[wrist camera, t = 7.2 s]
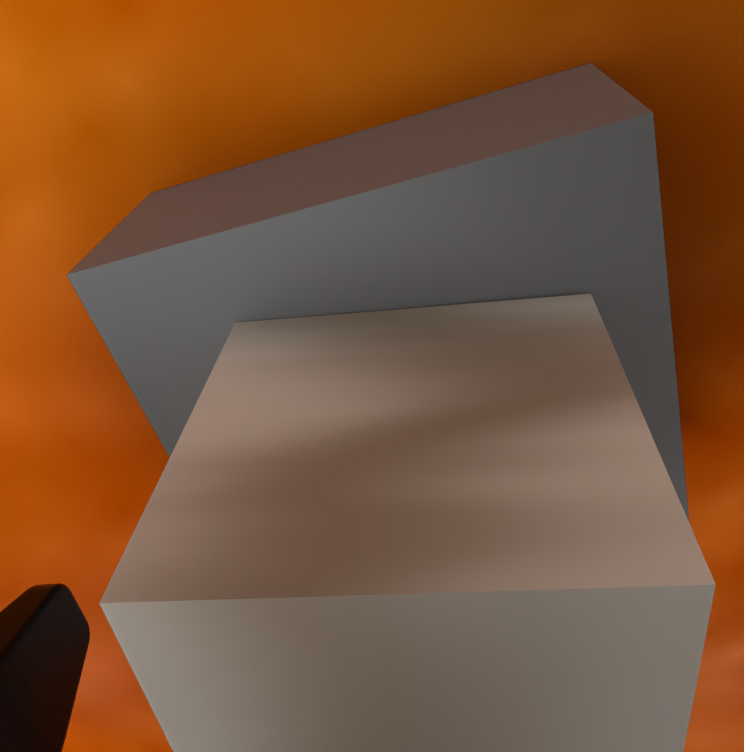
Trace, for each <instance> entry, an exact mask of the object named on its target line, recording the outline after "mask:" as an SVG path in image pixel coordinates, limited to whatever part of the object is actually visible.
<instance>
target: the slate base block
mask: <svg viewBox="0 0 744 752" xmlns="http://www.w3.org/2000/svg"><path fill="white" fill-rule="evenodd" d="M67 277H68V278H69V280H70V282H71V284H72V285H73V287H74V289H75V291H76V292H77V294H78V296H79V298H80V300H81V301H82V303H83V305H84V307H85V308H86V310H87V312H88V314H89V315H90V317H91V319H92V321H93V323H94V324H95V326H96V328H97V330H98V331H99V333H100V335H101V337H102V339H103V340H104V342H105V344H106V346H107V347H108V349H109V351H110V353H111V354H112V356H113V358H114V360H115V362H116V363H117V365H118V367H119V369H120V370H121V372H122V374H123V376H124V378H125V379H126V381H127V383H128V385H129V386H130V388H131V390H132V392H133V393H134V395H135V397H136V399H137V401H138V402H139V404H140V406H141V408H142V409H143V411H144V413H145V415H146V416H147V418H148V420H149V422H150V424H151V425H152V427H153V429H154V431H155V432H156V434H157V436H158V438H159V440H160V441H161V443H162V445H163V447H164V448H165V450H166V452H167V454H168V455H169V457H170V456H171V454H172V452H173V450H174V448H175V446H176V444H177V442H178V440H179V438H180V436H181V434H182V432H183V429H184V427H185V425H186V423H187V421H188V419H189V417H190V415H191V413H192V411H193V409H194V407H195V405H196V403H197V401H198V399H199V396H200V394H201V392H202V390H203V388H204V386H205V384H206V382H207V380H208V378H209V376H210V374H211V372H212V370H213V368H214V365H215V363H216V361H217V359H218V357H219V355H220V353H221V351H222V349H223V347H224V345H225V343H226V341H227V339H228V337H229V335H230V332H231V330H232V328H233V326H234V324H235V323H237V322H250V321H262V320H274V319H286V318H299V317H311V316H323V315H335V314H347V313H360V312H372V311H384V310H396V309H409V308H421V307H433V306H445V305H458V304H470V303H482V302H494V301H506V300H519V299H531V298H543V297H555V296H568V295H580V294H591V295H592V297H593V299H594V302H595V304H596V306H597V309H598V311H599V313H600V316H601V318H602V320H603V323H604V325H605V327H606V330H607V332H608V334H609V337H610V339H611V341H612V344H613V346H614V348H615V351H616V353H617V355H618V358H619V360H620V362H621V365H622V367H623V369H624V372H625V374H626V376H627V379H628V381H629V383H630V386H631V388H632V390H633V393H634V395H635V398H636V400H637V402H638V405H639V407H640V409H641V412H642V414H643V416H644V419H645V421H646V423H647V426H648V428H649V430H650V433H651V435H652V437H653V440H654V442H655V444H656V447H657V449H658V451H659V454H660V456H661V458H662V461H663V463H664V465H665V468H666V470H667V472H668V475H669V477H670V479H671V482H672V484H673V486H674V489H675V491H676V493H677V496H678V498H679V500H680V503H681V505H682V507H683V510H684V512H685V514H686V517H687V519H688V521H689V514H688V503H687V491H686V480H685V469H684V457H683V446H682V435H681V423H680V412H679V400H678V389H677V378H676V366H675V355H674V344H673V332H672V321H671V309H670V298H669V287H668V275H667V264H666V253H665V241H664V230H663V218H662V207H661V196H660V184H659V173H658V162H657V150H656V139H655V127H654V116H653V112H652V111H651V110H650V109H648V108H647V107H646V106H645V105H643V104H642V103H641V102H640V101H638V100H637V99H636V98H635V97H633V96H632V95H631V94H630V93H628V92H627V91H626V90H625V89H623V88H622V87H621V86H620V85H618V84H617V83H616V82H615V81H613V80H612V79H611V78H610V77H608V76H607V75H606V74H605V73H603V72H602V71H601V70H600V69H598V68H597V67H596V66H595V65H593V64H592V63H588V64H585V65H582V66H578V67H575V68H571V69H568V70H565V71H561V72H558V73H555V74H551V75H548V76H544V77H541V78H538V79H534V80H531V81H528V82H524V83H521V84H517V85H514V86H511V87H507V88H504V89H501V90H497V91H494V92H490V93H487V94H484V95H480V96H477V97H474V98H470V99H467V100H463V101H460V102H457V103H453V104H450V105H446V106H443V107H440V108H436V109H433V110H430V111H426V112H423V113H419V114H416V115H413V116H409V117H406V118H403V119H399V120H396V121H392V122H389V123H386V124H382V125H379V126H376V127H372V128H369V129H365V130H362V131H359V132H355V133H352V134H349V135H345V136H342V137H338V138H335V139H332V140H328V141H325V142H322V143H318V144H315V145H311V146H308V147H305V148H301V149H298V150H294V151H291V152H288V153H284V154H281V155H278V156H274V157H271V158H267V159H264V160H261V161H257V162H254V163H251V164H247V165H244V166H240V167H237V168H234V169H230V170H227V171H224V172H220V173H217V174H213V175H210V176H207V177H203V178H200V179H197V180H193V181H190V182H186V183H183V184H180V185H176V186H173V187H170V188H166V189H163V190H159V191H156V192H153V193H150V194H149V195H148V196H147V197H146V198H145V199H144V200H143V201H142V202H141V203H140V204H139V205H138V206H137V207H136V208H135V209H134V210H133V211H132V212H131V213H130V214H129V215H127V216H126V217H125V218H124V219H123V220H122V221H121V222H120V223H119V224H118V225H117V226H116V227H115V228H114V229H113V230H112V231H111V232H110V233H109V234H108V235H107V236H106V237H105V238H104V239H103V240H102V241H101V242H100V243H99V244H98V245H97V246H96V247H95V248H94V249H92V250H91V251H90V252H89V253H88V254H87V255H86V256H85V257H84V258H83V259H82V260H81V261H80V262H79V263H78V264H77V265H76V266H75V267H74V268H73V269H72V270H71V271H70V272H69V273H68V274H67Z"/></svg>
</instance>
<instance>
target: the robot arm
mask: <svg viewBox="0 0 744 752" xmlns="http://www.w3.org/2000/svg"><path fill="white" fill-rule="evenodd" d="M89 638H90V631H89V625H88V622H87V620H86V618H85V616H84V615H83V613H82V611H81V609H80V607H79V605H78V604H77V602H76V600H75V598H74V596H73V594H72V593H71V591H70V589H69V588H68V587H67V586H65V585H64V584H44V585H36V586H33V587H31V588H29V589H28V590H26V591H25V592H24V593H23V594H21V595H20V596H19V597H18V598H17V599H15V600H14V601H13V602H12V603H11V604H9V605H8V606H7V607H6V608H4V609H3V610H2V611H1V612H0V752H62V748H63V745H64V741H65V738H66V734H67V729H68V725H69V721H70V717H71V713H72V709H73V705H74V701H75V697H76V693H77V689H78V685H79V681H80V677H81V673H82V669H83V665H84V661H85V657H86V653H87V649H88V645H89Z"/></svg>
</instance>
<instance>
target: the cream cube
mask: <svg viewBox="0 0 744 752" xmlns="http://www.w3.org/2000/svg"><path fill="white" fill-rule="evenodd" d="M715 585H716V584H715V582H714V580H713V577H712V575H711V573H710V570H709V568H708V566H707V563H706V561H705V559H704V556H703V554H702V552H701V549H700V547H699V545H698V542H697V540H696V538H695V535H694V533H693V531H692V528H691V526H690V524H689V521H688V519H687V517H686V514H685V512H684V510H683V507H682V505H681V503H680V500H679V498H678V496H677V493H676V491H675V489H674V486H673V484H672V482H671V479H670V477H669V475H668V472H667V470H666V468H665V465H664V463H663V461H662V458H661V456H660V454H659V451H658V449H657V447H656V444H655V442H654V440H653V437H652V435H651V433H650V430H649V428H648V426H647V423H646V421H645V419H644V416H643V414H642V412H641V409H640V407H639V405H638V402H637V400H636V398H635V395H634V393H633V390H632V388H631V386H630V383H629V381H628V379H627V376H626V374H625V372H624V369H623V367H622V365H621V362H620V360H619V358H618V355H617V353H616V351H615V348H614V346H613V344H612V341H611V339H610V337H609V334H608V332H607V330H606V327H605V325H604V323H603V320H602V318H601V316H600V313H599V311H598V309H597V306H596V304H595V302H594V299H593V297H592V295H591V294H580V295H568V296H555V297H543V298H531V299H519V300H506V301H494V302H482V303H470V304H458V305H445V306H433V307H421V308H409V309H396V310H384V311H372V312H360V313H347V314H335V315H323V316H311V317H299V318H286V319H274V320H262V321H250V322H237V323H235V324H234V326H233V328H232V330H231V332H230V335H229V337H228V339H227V341H226V343H225V345H224V347H223V349H222V351H221V353H220V355H219V357H218V359H217V361H216V363H215V365H214V368H213V370H212V372H211V374H210V376H209V378H208V380H207V382H206V384H205V386H204V388H203V390H202V392H201V394H200V396H199V399H198V401H197V403H196V405H195V407H194V409H193V411H192V413H191V415H190V417H189V419H188V421H187V423H186V425H185V427H184V429H183V432H182V434H181V436H180V438H179V440H178V442H177V444H176V446H175V448H174V450H173V452H172V454H171V456H170V458H169V460H168V463H167V465H166V467H165V469H164V471H163V473H162V475H161V477H160V479H159V481H158V483H157V485H156V487H155V489H154V491H153V493H152V496H151V498H150V500H149V502H148V504H147V506H146V508H145V510H144V512H143V514H142V516H141V518H140V520H139V522H138V524H137V527H136V529H135V531H134V533H133V535H132V537H131V539H130V541H129V543H128V545H127V547H126V549H125V551H124V553H123V555H122V557H121V560H120V562H119V564H118V566H117V568H116V570H115V572H114V574H113V576H112V578H111V580H110V582H109V584H108V586H107V588H106V591H105V593H104V595H103V597H102V599H101V601H100V603H99V604H100V606H101V608H102V610H103V612H104V614H105V616H106V618H107V620H108V622H109V624H110V626H111V628H112V630H113V632H114V634H115V636H116V638H117V640H118V642H119V644H120V646H121V648H122V650H123V652H124V654H125V656H126V658H127V660H128V662H129V664H130V666H131V668H132V670H133V672H134V674H135V676H136V678H137V680H138V682H139V684H140V686H141V688H142V690H143V692H144V694H145V696H146V698H147V700H148V702H149V704H150V706H151V708H152V710H153V712H154V714H155V716H156V718H157V720H158V722H159V724H160V726H161V728H162V730H163V732H164V734H165V736H166V738H167V740H168V742H169V744H170V746H171V748H172V750H173V752H683V751H684V746H685V740H686V735H687V730H688V725H689V720H690V715H691V709H692V704H693V699H694V694H695V689H696V684H697V678H698V673H699V668H700V663H701V658H702V653H703V647H704V642H705V637H706V632H707V627H708V622H709V616H710V611H711V606H712V601H713V596H714V591H715Z"/></svg>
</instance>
